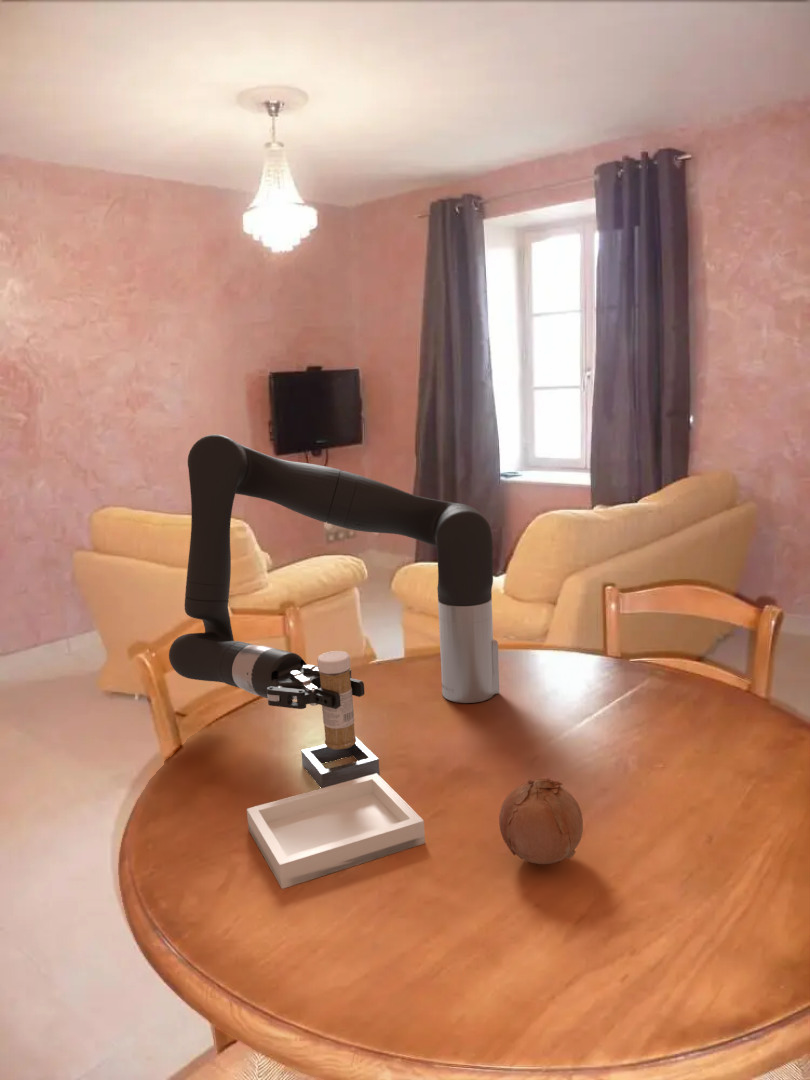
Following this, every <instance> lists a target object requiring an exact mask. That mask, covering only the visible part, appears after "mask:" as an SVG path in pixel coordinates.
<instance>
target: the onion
mask: <svg viewBox="0 0 810 1080" xmlns="http://www.w3.org/2000/svg"><path fill="white" fill-rule="evenodd" d="M562 785H563V783H562V782H560V781H559V780H552V779H551V778H550V777H549V778H546V779H545V778H538V779H536V780H532V779H531V780H528V781H526V782H525V783H522V784H521V785H518V786H517V787H516V788H515V789H513V790H512V791H510V792H509V793H508V794H507V796H506V797H505V799H504V801H503V802H502V804H501V807H500V812H499V816H498V817H499V818H498V820H499V821H498V822H499V823H498V824H499V831H500V834H501V836H502V838H503V839H502V840H503V842H504V843H505V845H506V846H507V848H508V849H509V851H510V853H512V855H513V856H514V857H515V856H518V858H520V859H521V860H524V861H525V862H529V863H531V864H535V865H536V866H538V865H550V864H555V863H560V861H562V860H564V859H566V858H567V859H568V860H569V859H570V860H571V859H572V858H573V857H574V855H575V854H576V851H575V850H576V848H578V846H579V844H580V842H581V839H582V837H583V830H584V828H583V827H584V821H583V813H582V810H581V808H580V806H579V803H578V801H577V800H576V799H575V797H574V796H573V794H572V793H570V792H569V791H568V790H567V789H566V788H565V787H563V786H562Z"/></svg>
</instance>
